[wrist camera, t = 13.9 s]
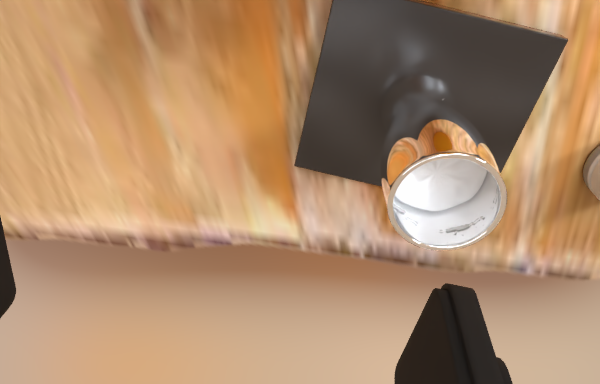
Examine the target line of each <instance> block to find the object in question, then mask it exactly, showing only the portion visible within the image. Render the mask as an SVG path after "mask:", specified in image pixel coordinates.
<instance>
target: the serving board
mask: <svg viewBox="0 0 600 384" xmlns="http://www.w3.org/2000/svg"><path fill="white" fill-rule="evenodd" d="M567 41H568V39H567V38H565V37H563V36H562V35H559V34H555V33H551V32H547V31H542V30H538V29H534V28H530V27H526V26H522V25H518V24H514V23H510V22H506V21H502V20H498V19H494V18H490V17H485V16H481V15H477V14H473V13H469V12H465V11H461V10H457V9H453V8H449V7H445V6H441V5H437V4H433V3H428V2H424V1H420V0H333V2H332V6H331V10H330V15H329V19H328V23H327V28H326V32H325V36H324V40H323V45H322V49H321V53H320V58H319V62H318V66H317V71H316V75H315V79H314V83H313V88H312V92H311V96H310V101H309V105H308V109H307V114H306V118H305V122H304V126H303V131H302V135H301V139H300V144H299V148H298V152H297V157H296V161H295V166H297V167H302V168H306V169H310V170H314V171H318V172H323V173H327V174H331V175H335V176H339V177H344V178H348V179H352V180H356V181H361V182H365V183H369V184H373V185H377V186H382V182H381V173H380V159H381V153H382V147H383V143H384V139H385V136H386V133H387V131H386V130H385V128H384V126H383V124H382V120H381V114H380V110H381V104H382V101H383V98H384V96H385V94H386V93H387V91H388V90H389V89H390V88H391V87H392V86H393V85H394V84H395V83H396V82H398V81H400V80H401V79H403V78H406V77H408V76H412V75H429V76H433V77H435V78H438V79H439V80H441V81H442V82H444V83H445V84H446V85H447V86H448V87H449V89H450V90H451V92H452V94H453V96H454V100H455V106H456V110H457V111H458V112H460V113H461V114H462V115H463V116H465V117H466V118H467V119H468V120H469V121H470V122H471V123H472V124H473V125H474V126H475V127H476V128H477V129H478V130H479V131H480V133H481V134H482V136H483V137H484V139H485V140H486V142H487V144H488V145H489V147H490V149H491V152H492V154H493V156H494V158H495V161H496V163H497V166H498V169H499V172H500V173H501V171H502V169H503V167H504V165H505V163H506V161H507V159H508V157H509V155H510V154H511V152H512V150H513V148H514V146H515V144H516V142H517V140H518V138H519V136H520V134H521V132H522V130H523V128H524V126H525V124H526V122H527V120H528V118H529V116H530V114H531V112H532V110H533V108H534V106H535V104H536V102H537V100H538V98H539V96H540V95H541V93H542V91H543V89H544V87H545V85H546V83H547V81H548V79H549V77H550V75H551V73H552V71H553V69H554V67H555V65H556V63H557V61H558V59H559V57H560V55H561V53H562V51H563V49H564V47H565V45H566V43H567Z"/></svg>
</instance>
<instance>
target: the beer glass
mask: <svg viewBox="0 0 600 384" xmlns="http://www.w3.org/2000/svg"><path fill="white" fill-rule="evenodd" d="M380 114H381V120H382V124H383V126H384V128H385V130H386V131H387V133H386V136H385V139H384V143H383V147H382V153H381V159H380V173H381V182H382V189H383V193H384V197H385V201H386V205H387V210H388V216H389V219H390V222H391V224H392V226H393V227H394V229H395V230H396V231H397V233H398V234H399V235H400V236H401V237H402V238H404V239H405V240H406V241H408V242H409V243H411V244H413V245H415V246H418V247H421V248H424V249H428V250H435V251H449V250H456V249H460V248H464V247H467V246H470V245H472V244H474V243H476V242H478V241H480V240H481V239H483V238H484V237H486V236H487V235H488V234H489V233H490V232H491V231H492V230H493V229H494V228H495V227H496V226H497V225H498V223H499V222H500V220H501V218H502V217H503V214H504V212H505V209H506V204H507V190H506V186H505V183H504V181H503V179H502V177H501V175H500V172H499V169H498V166H497V163H496V161H495V158H494V156H493V154H492V152H491V149H490V147H489V145H488V144H487V142H486V140H485V139H484V137H483V136H482V134H481V133H480V131H479V130H478V129H477V128H476V127H475V126H474V125H473V124H472V123H471V122H470V121H469V120H468V119H467V118H466V117H465V116H463V115H462V114H461V113H460V112H458V111H457V110H456V106H455V100H454V96H453V94H452V92H451V90H450V89H449V87H448V86H447V85H446V84H445V83H444V82H442V81H441V80H439V79H438V78H435V77H433V76H429V75H412V76H408V77H406V78H403V79H401V80H400V81H398V82H396V83H395V84H394V85H393V86H392V87H391V88H390V89H389V90H388V91H387V93H386V94H385V96H384V98H383V101H382V104H381V110H380Z"/></svg>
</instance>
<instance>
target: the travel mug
mask: <svg viewBox="0 0 600 384" xmlns="http://www.w3.org/2000/svg"><path fill="white" fill-rule="evenodd" d="M583 178H584V182H585V183H586V185H587V187H588V188H589V189H590V190H591V192H592V193H593V194H594V195H595V196H596V197H597V199H598V200H599V201H600V145H599V146H598V147H597V148H596V149H595V150H594V151H593V152H592V153H591V154H590V156H589V157H588V159H587V161H586V163H585V165H584V169H583Z"/></svg>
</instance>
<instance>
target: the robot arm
mask: <svg viewBox="0 0 600 384" xmlns="http://www.w3.org/2000/svg"><path fill="white" fill-rule="evenodd" d="M15 294H16V287H15V282H14V277H13V273H12V268H11V264H10V259H9V254H8V250H7V245H6V240H5V236H4V231H3V226H2V222H1V217H0V318H1V317H2V315H3V314H4V313H5V312H6V311H7V309H8V308H9V307H10V305H11V304H12V302H13V300H14V298H15ZM395 384H512V381H511V378H510V375H509V372H508V369H507V367H506V365H505V363H504V362H503V361H502V360H501V359H500V358H497V357H496V356H495V352H494V349H493V346H492V343H491V340H490V337H489V334H488V331H487V327H486V324H485V321H484V318H483V315H482V311H481V308H480V305H479V302H478V299H477V296H476V293H475V291H474V290H473V289H472V288H467V287H462V286H457V285H453V284H444V285H443V286H442V288H441V289H437V288H435V289H434V290H433V291H432V293H431V295H430V297H429V299H428V301H427V303H426V305H425V307H424V309H423V311H422V313H421V316H420V318H419V320H418V322H417V324H416V326H415V328H414V330H413V332H412V334H411V336H410V338H409V340H408V343H407V345H406V347H405V349H404V351H403V353H402V355H401V357H400V359H399V361H398V363H397V366H396V370H395Z"/></svg>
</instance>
